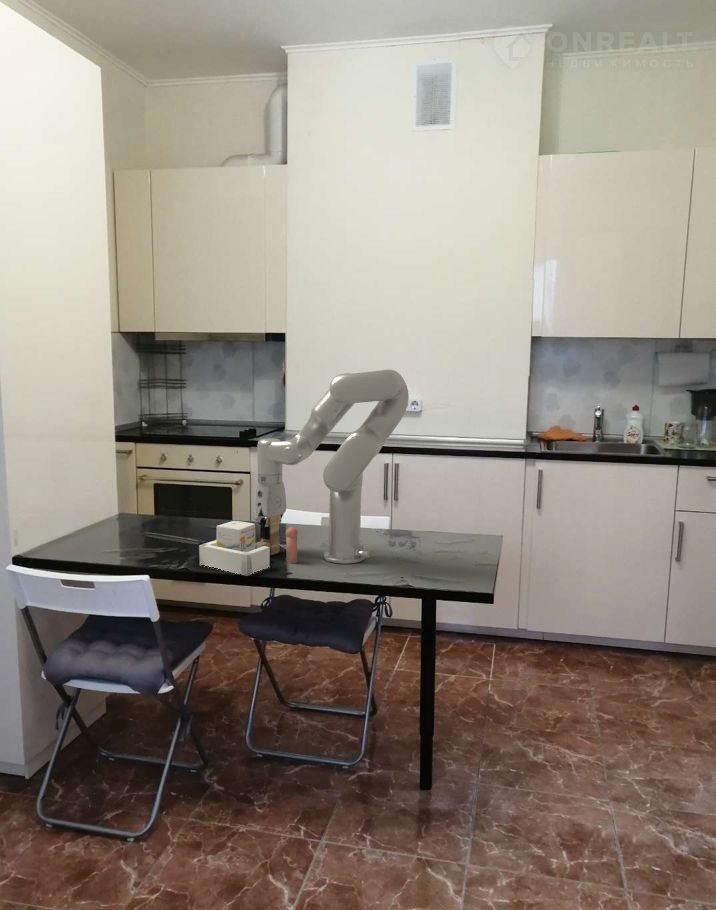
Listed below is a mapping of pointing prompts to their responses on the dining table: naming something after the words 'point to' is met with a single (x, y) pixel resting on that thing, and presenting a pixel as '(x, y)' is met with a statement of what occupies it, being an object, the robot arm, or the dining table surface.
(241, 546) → the ink box
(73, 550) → the dining table surface
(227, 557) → the frame
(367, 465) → the robot arm
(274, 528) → the kicker
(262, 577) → the dining table surface
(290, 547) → the figure left
